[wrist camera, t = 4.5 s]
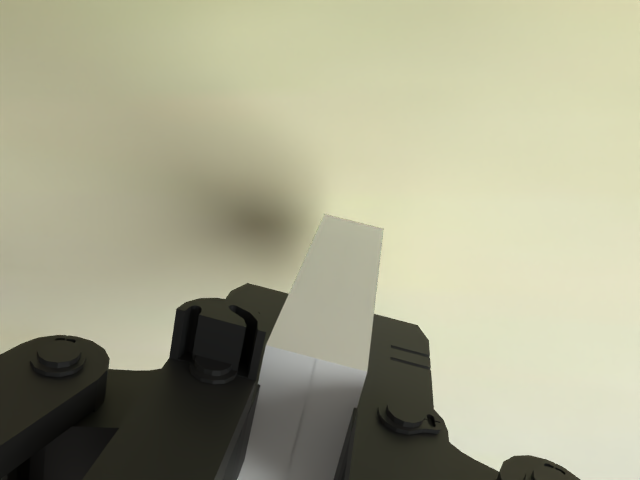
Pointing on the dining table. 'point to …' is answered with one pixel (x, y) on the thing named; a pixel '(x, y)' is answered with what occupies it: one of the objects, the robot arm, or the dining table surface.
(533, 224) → the dining table surface
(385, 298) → the dining table surface
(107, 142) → the dining table surface
